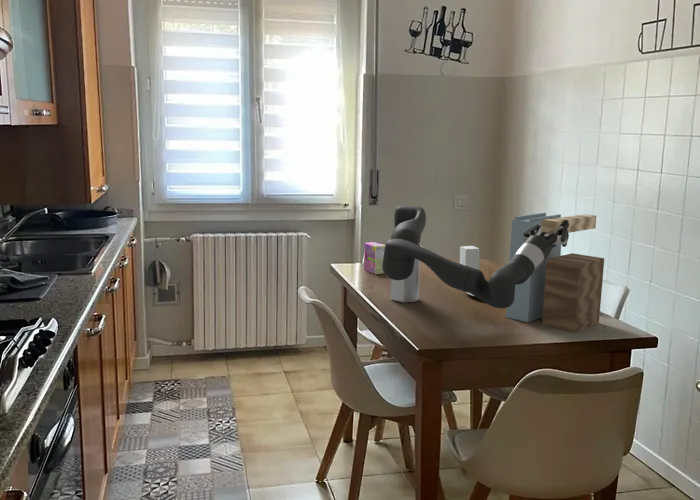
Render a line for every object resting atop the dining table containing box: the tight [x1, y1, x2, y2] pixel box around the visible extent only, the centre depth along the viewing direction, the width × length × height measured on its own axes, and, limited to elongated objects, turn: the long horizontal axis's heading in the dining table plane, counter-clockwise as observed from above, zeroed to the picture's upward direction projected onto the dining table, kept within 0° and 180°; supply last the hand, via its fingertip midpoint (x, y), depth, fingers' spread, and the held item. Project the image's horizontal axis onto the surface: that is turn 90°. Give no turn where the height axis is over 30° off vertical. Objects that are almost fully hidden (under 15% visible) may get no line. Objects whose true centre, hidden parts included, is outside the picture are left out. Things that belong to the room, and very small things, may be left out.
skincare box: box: [459, 245, 481, 270], centre depth 273 cm, size 8×6×15 cm
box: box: [363, 241, 385, 275], centre depth 294 cm, size 10×6×12 cm, turn 25°
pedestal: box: [505, 212, 562, 323], centre depth 228 cm, size 18×8×33 cm, turn 135°
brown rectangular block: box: [541, 214, 597, 235], centre depth 211 cm, size 26×4×4 cm, turn 135°
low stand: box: [541, 252, 605, 333], centre depth 219 cm, size 16×11×21 cm
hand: (559, 221), depth 207 cm, fingers closed on brown rectangular block, 4 cm apart
